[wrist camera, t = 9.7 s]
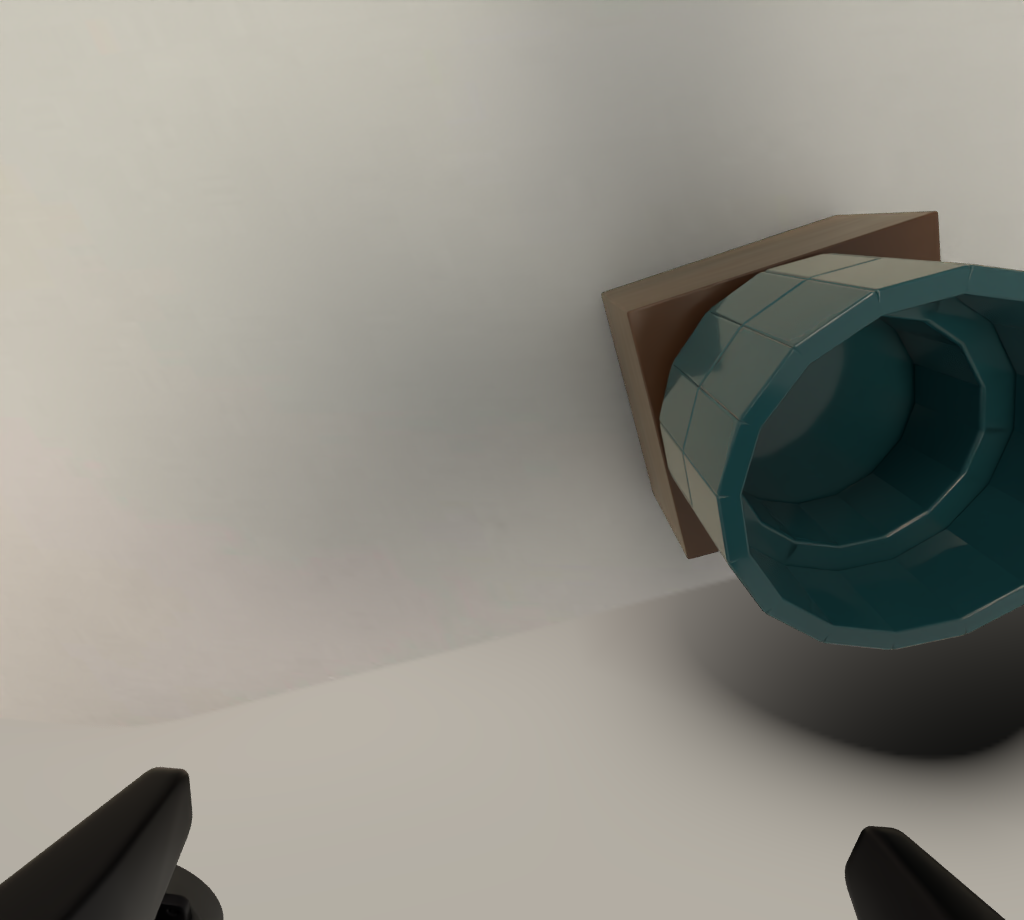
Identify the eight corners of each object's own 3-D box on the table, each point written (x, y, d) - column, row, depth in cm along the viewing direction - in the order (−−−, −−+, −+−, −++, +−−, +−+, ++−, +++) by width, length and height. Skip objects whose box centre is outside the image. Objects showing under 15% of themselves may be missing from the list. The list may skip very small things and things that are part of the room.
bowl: (882, 540, 15) (1030, 665, 10) (631, 512, 14) (679, 629, 10) (990, 275, 12) (1238, 299, 8) (692, 235, 12) (788, 239, 8)
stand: (653, 493, 19) (688, 560, 15) (600, 292, 16) (626, 311, 13) (861, 434, 18) (953, 488, 14) (837, 214, 16) (938, 210, 12)
